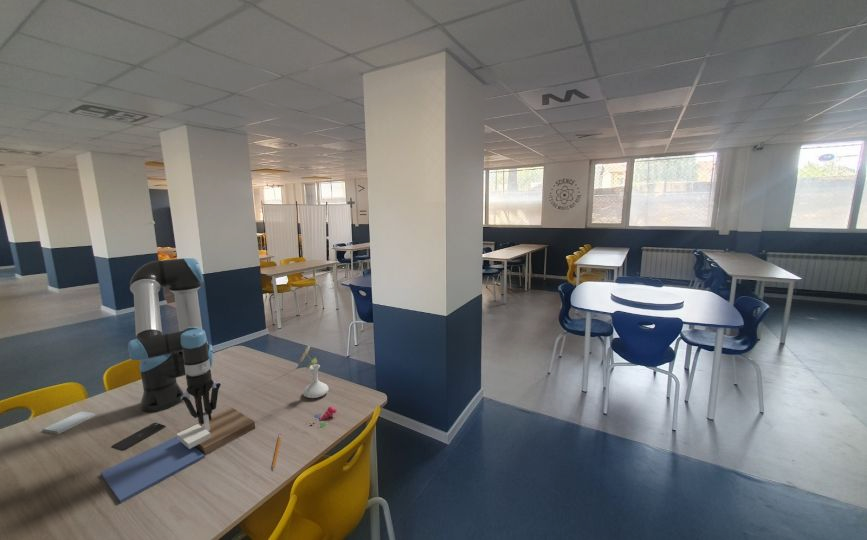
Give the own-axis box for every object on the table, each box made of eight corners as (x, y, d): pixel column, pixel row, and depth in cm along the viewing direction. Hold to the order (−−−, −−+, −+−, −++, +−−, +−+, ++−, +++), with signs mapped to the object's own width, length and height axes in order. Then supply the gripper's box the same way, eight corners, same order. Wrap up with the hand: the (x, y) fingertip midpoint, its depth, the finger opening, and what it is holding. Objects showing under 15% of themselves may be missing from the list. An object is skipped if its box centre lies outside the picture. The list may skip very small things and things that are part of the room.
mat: (101, 474, 111) (100, 472, 111) (181, 436, 129) (180, 434, 129) (120, 503, 100) (120, 500, 100) (204, 457, 118) (204, 454, 118)
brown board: (183, 437, 129) (182, 430, 128) (232, 413, 144) (231, 407, 143) (205, 455, 119) (204, 447, 119) (255, 428, 134) (254, 421, 133)
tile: (177, 438, 124) (176, 433, 123) (198, 428, 129) (198, 423, 129) (189, 449, 118) (188, 443, 118) (211, 437, 124) (210, 432, 124)
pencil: (278, 435, 129) (270, 471, 112) (279, 433, 129) (271, 468, 112) (280, 436, 130) (273, 472, 112) (282, 434, 130) (274, 469, 112)
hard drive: (57, 431, 131) (94, 413, 143) (42, 429, 133) (80, 410, 145) (58, 435, 132) (95, 416, 144) (42, 432, 133) (80, 414, 145)
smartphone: (110, 445, 124) (154, 421, 138) (110, 447, 124) (154, 423, 138) (122, 450, 122) (167, 425, 136) (123, 452, 122) (167, 427, 136)
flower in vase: (314, 385, 166) (311, 338, 162) (333, 390, 162) (330, 341, 158) (295, 399, 154) (290, 348, 150) (315, 404, 150) (311, 351, 146)
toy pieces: (321, 409, 147) (321, 400, 146) (341, 416, 141) (340, 407, 141) (299, 424, 136) (298, 415, 136) (319, 433, 131) (318, 423, 130)
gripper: (182, 382, 116) (191, 443, 120) (222, 367, 126) (229, 424, 130) (173, 376, 120) (182, 435, 124) (212, 362, 130) (220, 417, 135)
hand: (206, 429), depth 127 cm, fingers closed
